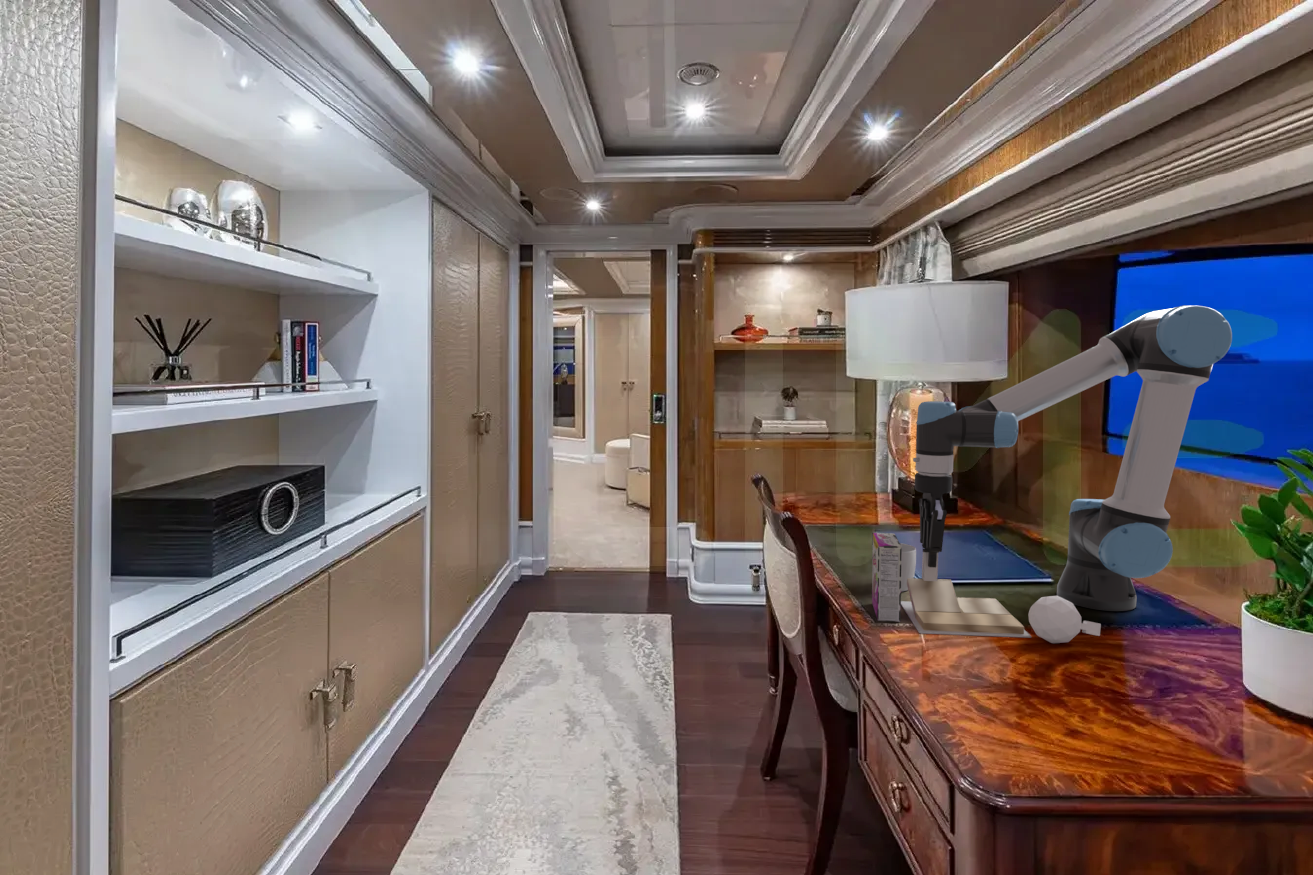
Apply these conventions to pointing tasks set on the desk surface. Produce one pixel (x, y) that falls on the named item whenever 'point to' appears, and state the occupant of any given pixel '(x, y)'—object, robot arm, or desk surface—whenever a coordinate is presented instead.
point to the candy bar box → (886, 577)
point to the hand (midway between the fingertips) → (929, 579)
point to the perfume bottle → (1058, 620)
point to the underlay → (909, 610)
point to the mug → (907, 564)
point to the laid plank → (969, 622)
